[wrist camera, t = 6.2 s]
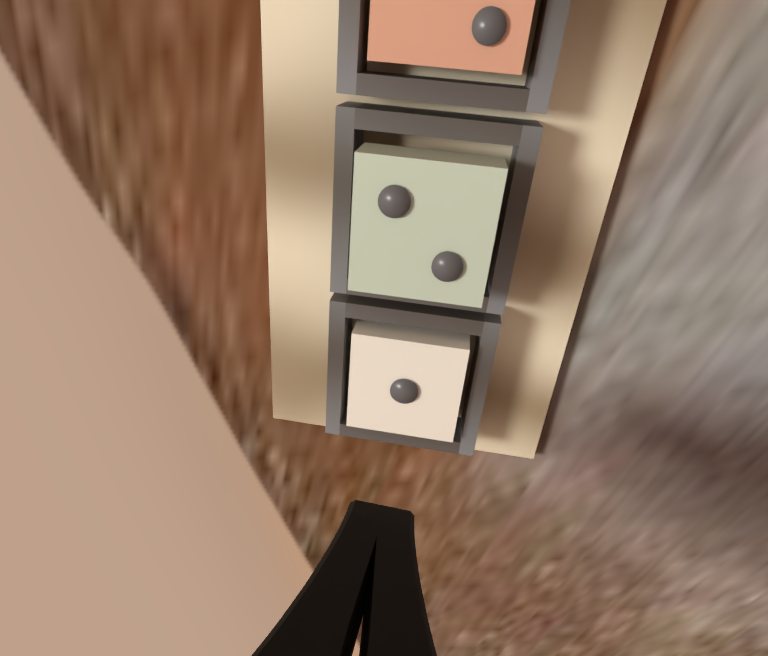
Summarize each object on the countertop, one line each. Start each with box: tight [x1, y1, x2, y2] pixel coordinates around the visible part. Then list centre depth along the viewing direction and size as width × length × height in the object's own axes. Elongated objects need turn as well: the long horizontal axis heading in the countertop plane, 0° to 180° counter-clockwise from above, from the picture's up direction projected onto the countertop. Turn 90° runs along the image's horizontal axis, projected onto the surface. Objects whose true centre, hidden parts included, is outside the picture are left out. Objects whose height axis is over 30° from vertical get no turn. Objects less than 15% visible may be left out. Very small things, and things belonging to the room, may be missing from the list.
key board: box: [260, 0, 667, 459], centre depth 15 cm, size 18×10×2 cm, turn 175°
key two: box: [348, 142, 508, 308], centre depth 14 cm, size 4×4×2 cm
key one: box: [346, 319, 470, 442], centre depth 17 cm, size 4×4×2 cm
